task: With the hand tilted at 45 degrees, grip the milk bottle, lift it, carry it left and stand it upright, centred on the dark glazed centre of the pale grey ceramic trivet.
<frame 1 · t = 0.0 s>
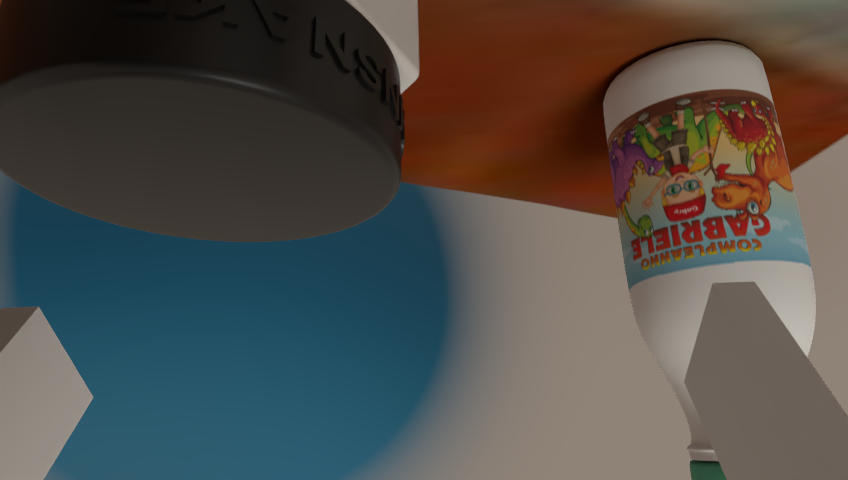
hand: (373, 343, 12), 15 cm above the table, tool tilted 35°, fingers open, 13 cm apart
milk bottle: (677, 79, 30), on the table
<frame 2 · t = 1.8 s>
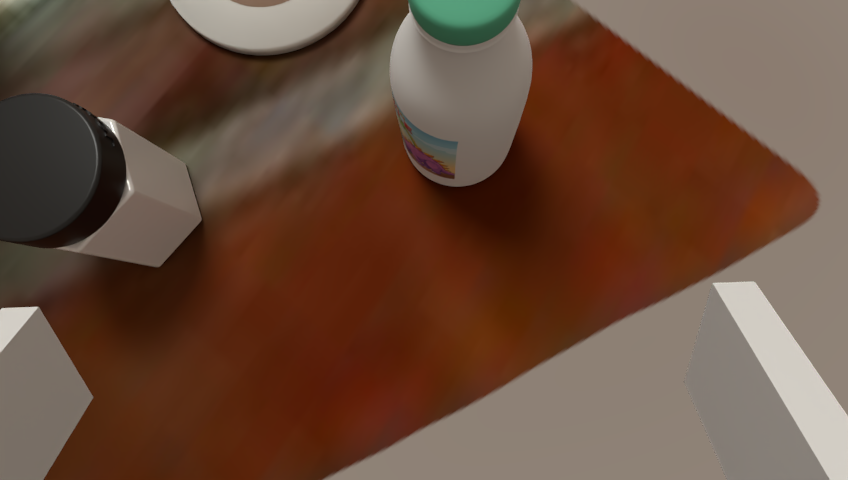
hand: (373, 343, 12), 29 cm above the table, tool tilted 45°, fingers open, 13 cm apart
milk bottle: (457, 137, 42), on the table
jar: (145, 210, 42), on the table
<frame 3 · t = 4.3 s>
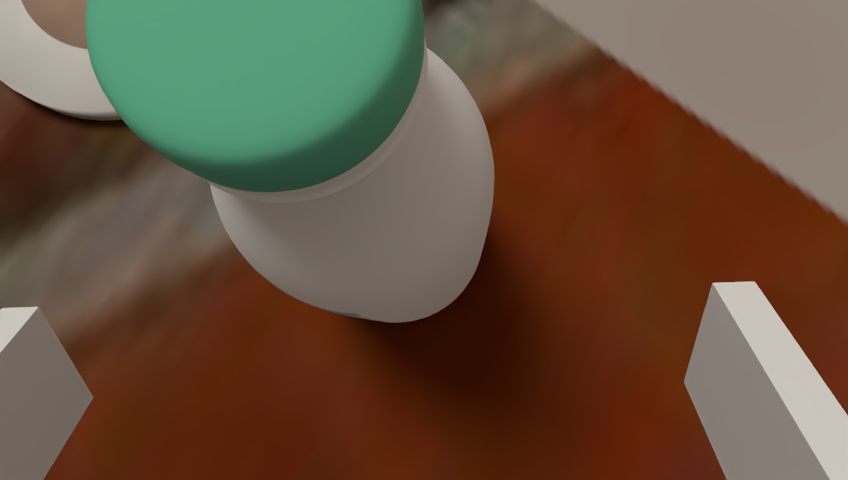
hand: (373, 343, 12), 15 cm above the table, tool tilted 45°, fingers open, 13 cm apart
milk bottle: (399, 241, 27), on the table
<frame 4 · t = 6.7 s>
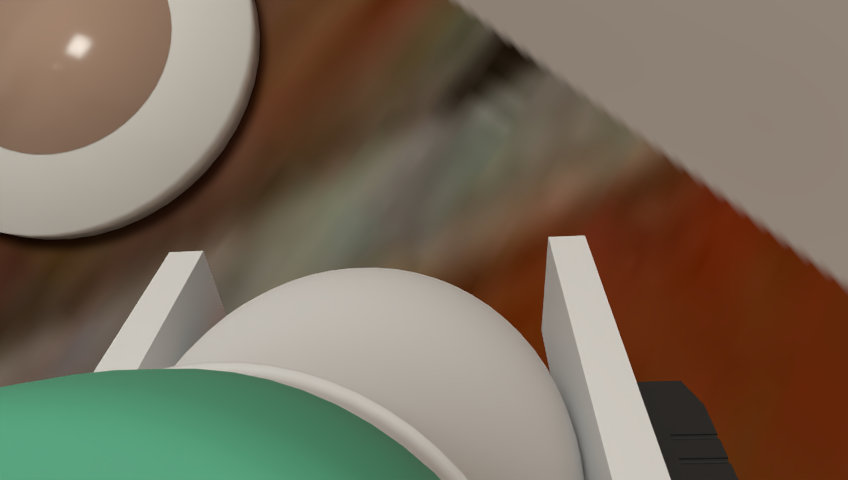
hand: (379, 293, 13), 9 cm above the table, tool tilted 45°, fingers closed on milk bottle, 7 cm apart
trivet: (75, 54, 25), on the table
milk bottle: (415, 403, 22), on the table, touching gripper
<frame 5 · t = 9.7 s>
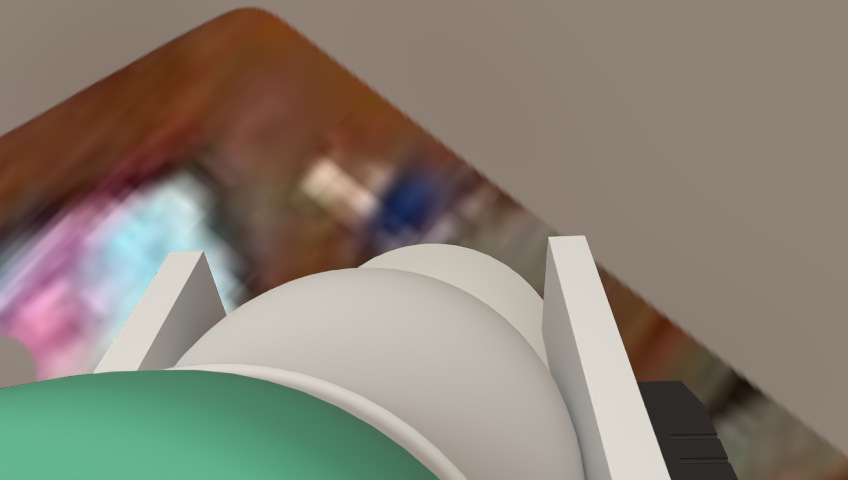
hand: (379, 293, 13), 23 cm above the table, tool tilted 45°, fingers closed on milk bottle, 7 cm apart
trivet: (433, 375, 36), on the table
milk bottle: (415, 404, 22), point 14 cm above the table, touching gripper
when the fingers open (12 cm above the table, at t = 13.0 s): milk bottle drops 1 cm, resting on trivet.
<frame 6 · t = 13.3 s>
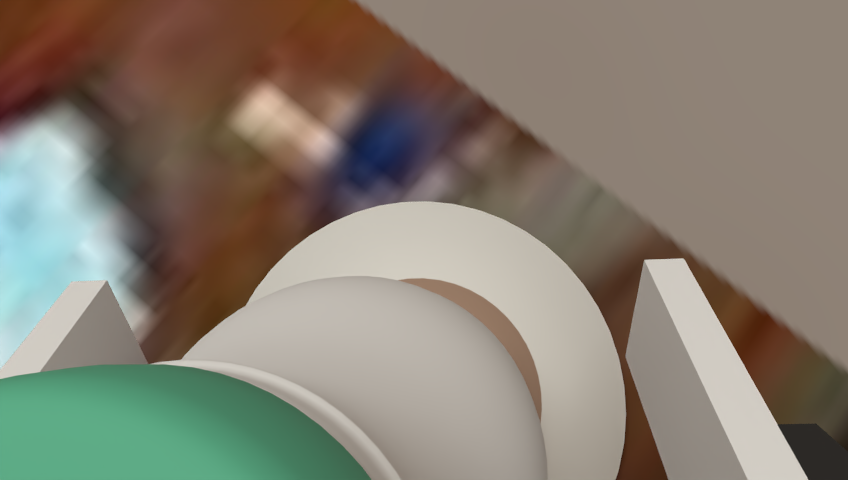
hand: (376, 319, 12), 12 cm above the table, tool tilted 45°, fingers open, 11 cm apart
trivet: (419, 397, 24), on the table
milk bottle: (417, 402, 23), point 1 cm above the table, touching trivet
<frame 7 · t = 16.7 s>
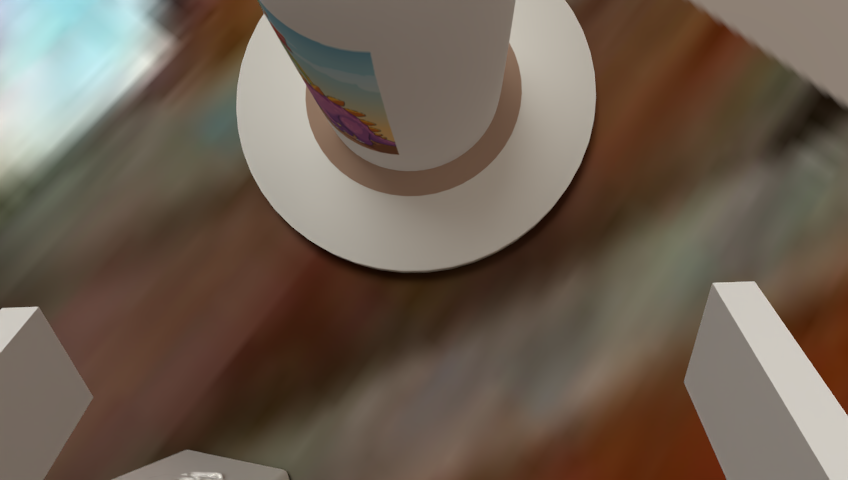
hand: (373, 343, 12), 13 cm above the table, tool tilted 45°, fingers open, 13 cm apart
trivet: (414, 101, 27), on the table
milk bottle: (412, 93, 26), point 1 cm above the table, touching trivet
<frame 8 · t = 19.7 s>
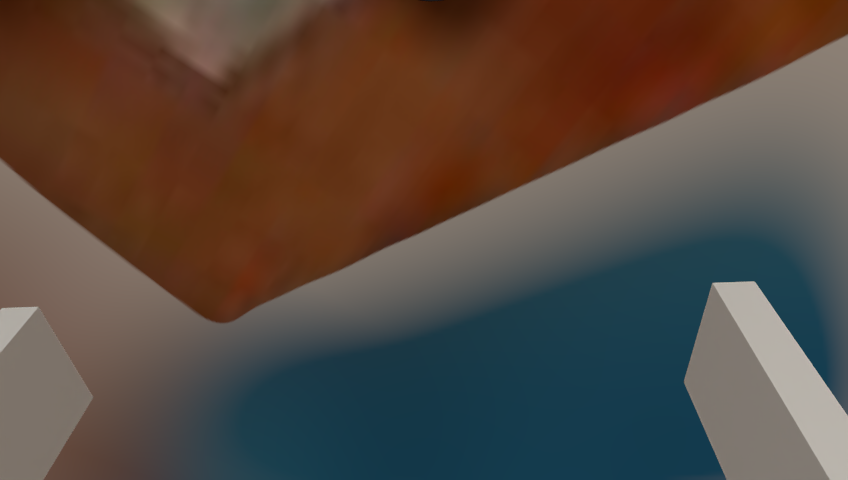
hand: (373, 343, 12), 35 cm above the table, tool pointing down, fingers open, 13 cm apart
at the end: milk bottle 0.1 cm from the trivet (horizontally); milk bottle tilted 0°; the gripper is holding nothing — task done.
